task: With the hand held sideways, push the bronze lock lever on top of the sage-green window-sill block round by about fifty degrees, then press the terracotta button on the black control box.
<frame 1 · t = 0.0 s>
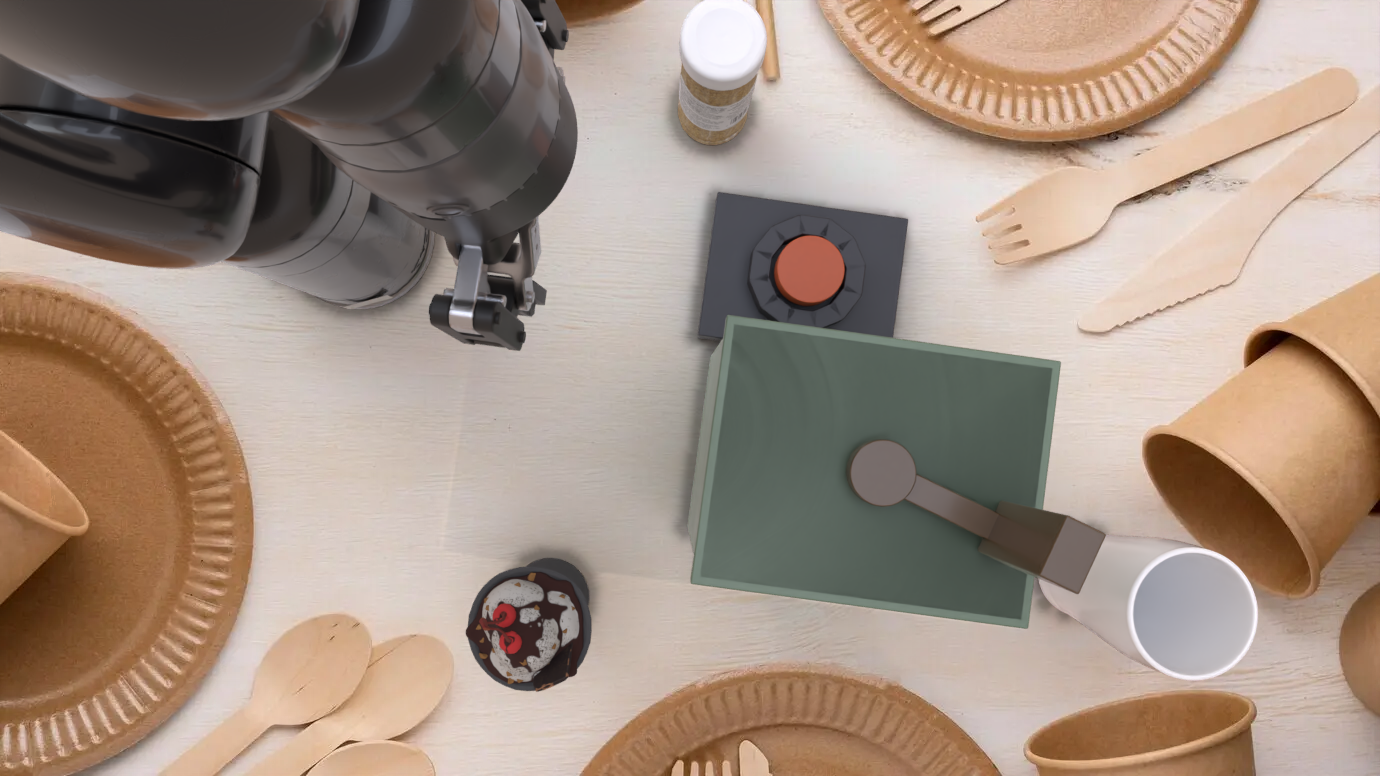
hand: (537, 207, 50), 17 cm above the table, tool pointing down, fingers open, 8 cm apart
sprinkles bottle: (711, 113, 68), on the table
control box: (799, 281, 67), on the table
sundae: (549, 596, 67), on the table
sill block: (807, 456, 67), on the table
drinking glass: (1074, 571, 67), on the table
button: (808, 271, 63), point 4 cm above the table, slide at 0.1 cm
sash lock: (960, 506, 41), point 26 cm above the table, hinge at 0.0°
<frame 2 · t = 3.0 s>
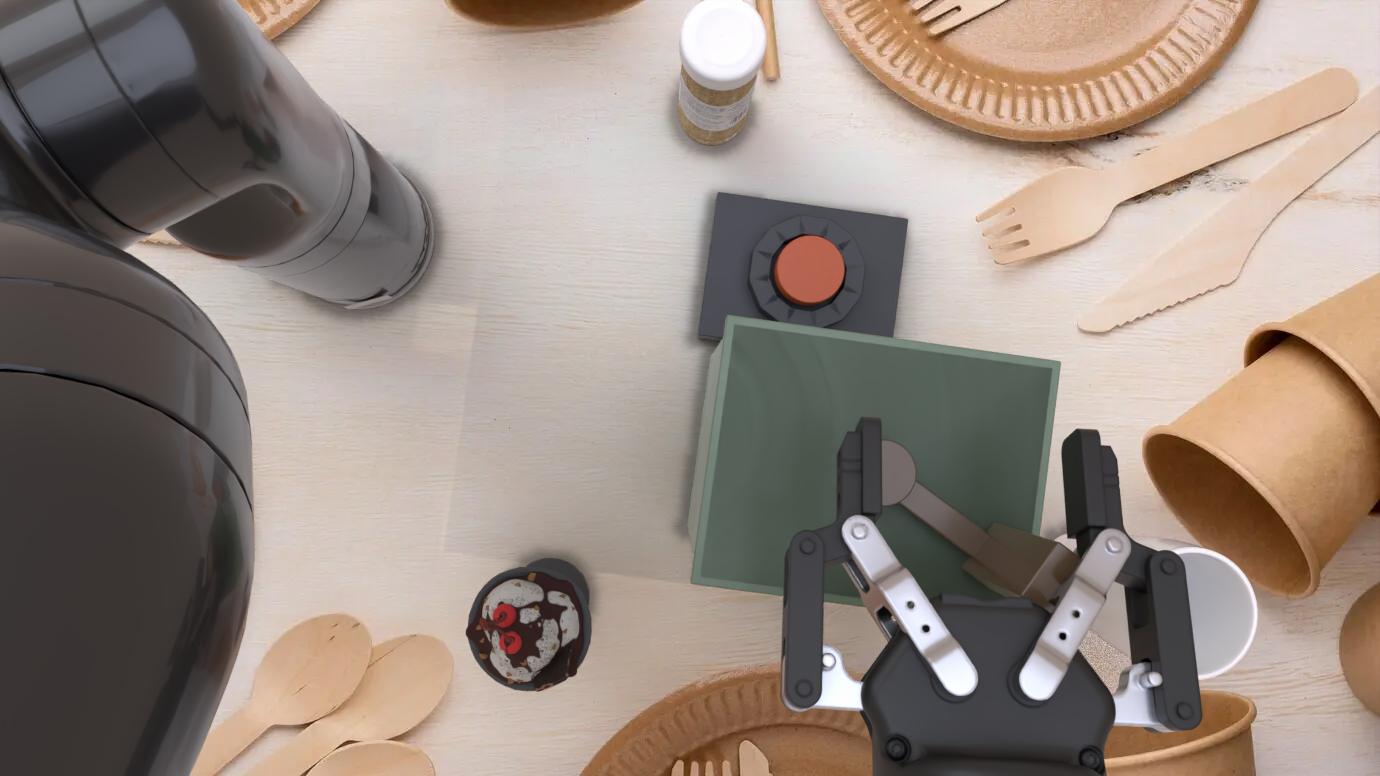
hand: (972, 429, 39), 28 cm above the table, tool tilted 70°, fingers open, 7 cm apart
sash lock: (953, 517, 41), point 26 cm above the table, hinge at -10.7°, touching gripper
everything else where it was.
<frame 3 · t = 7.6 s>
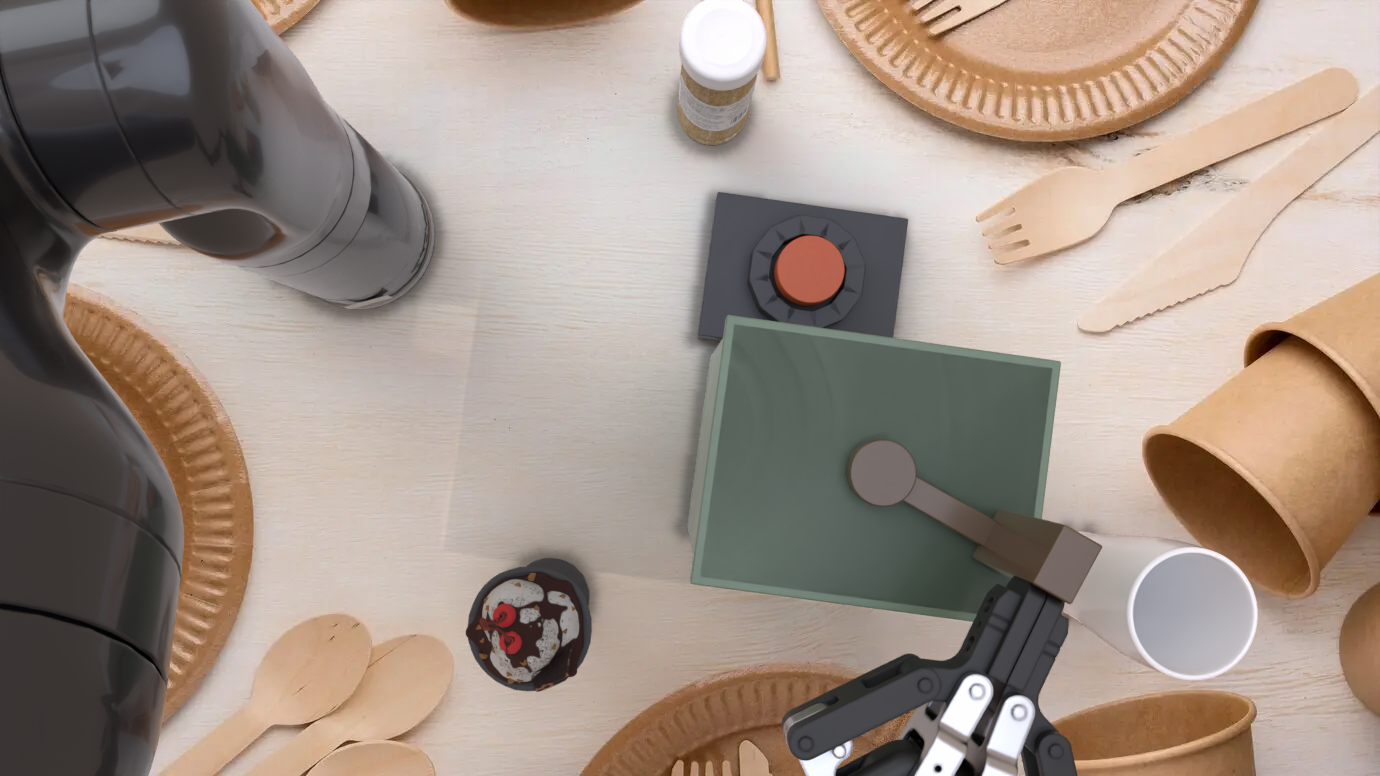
hand: (1038, 586, 39), 28 cm above the table, tool horizontal, fingers closed
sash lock: (958, 510, 41), point 26 cm above the table, hinge at -3.7°, touching gripper
everything else where it was.
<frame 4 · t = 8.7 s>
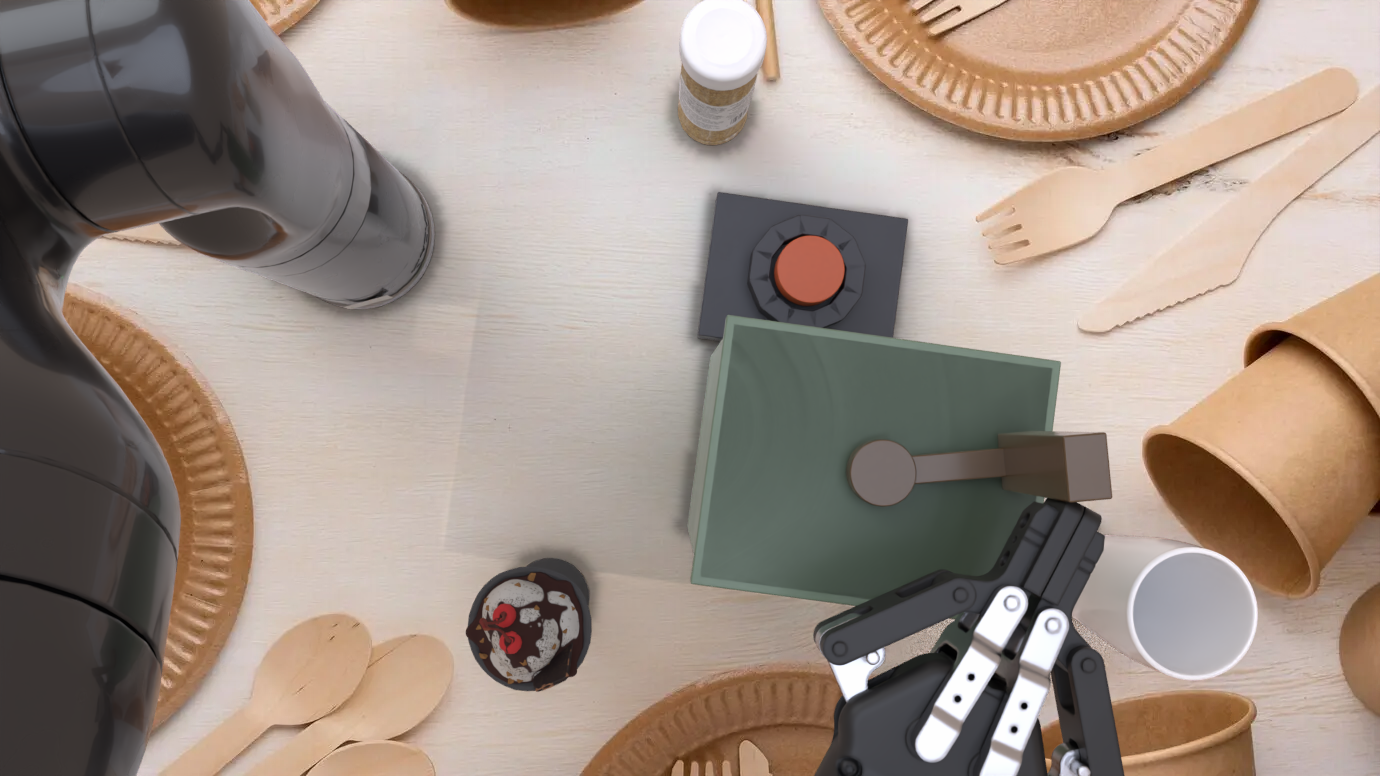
hand: (1075, 504, 39), 28 cm above the table, tool horizontal, fingers closed
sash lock: (966, 470, 41), point 26 cm above the table, hinge at 30.6°, touching gripper
everything else where it was.
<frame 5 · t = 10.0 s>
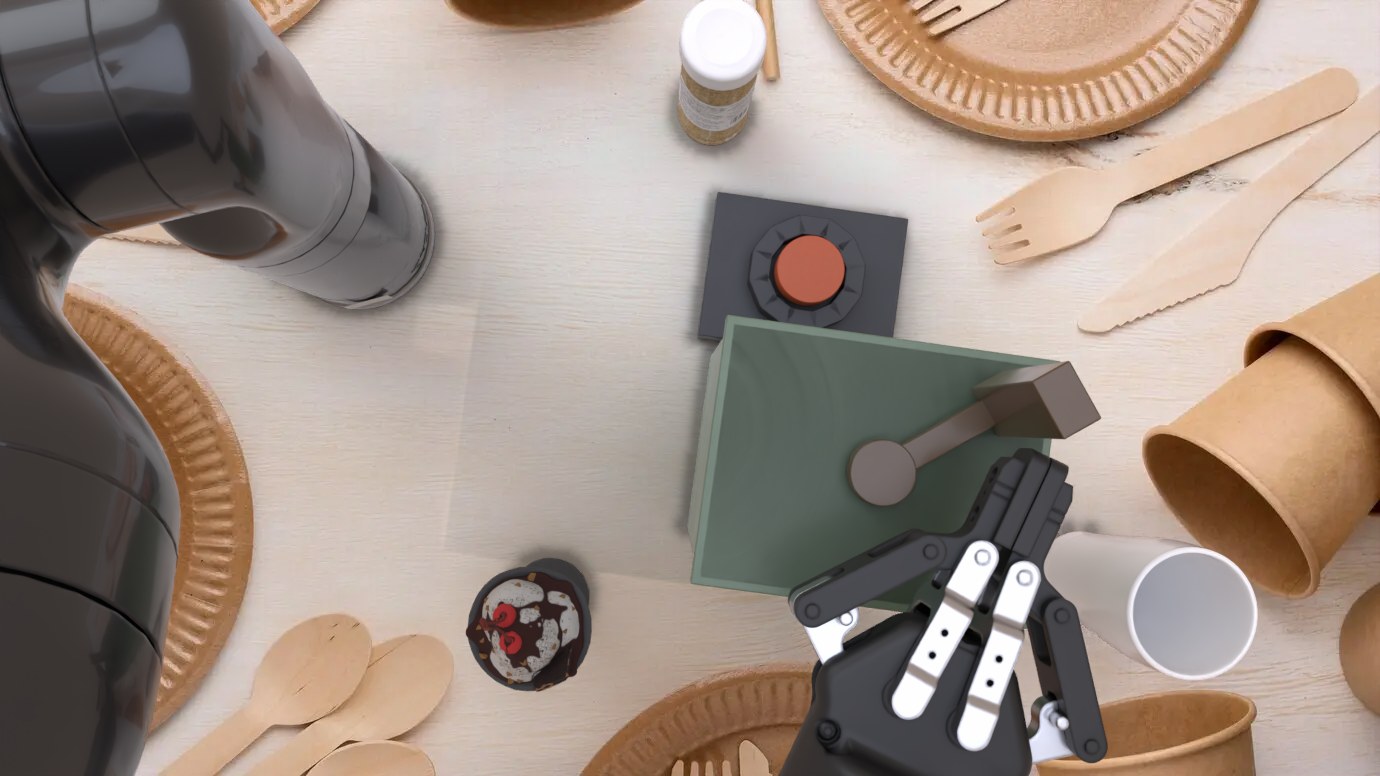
hand: (1042, 456, 39), 28 cm above the table, tool horizontal, fingers closed
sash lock: (957, 442, 41), point 26 cm above the table, hinge at 54.7°
everything else where it was.
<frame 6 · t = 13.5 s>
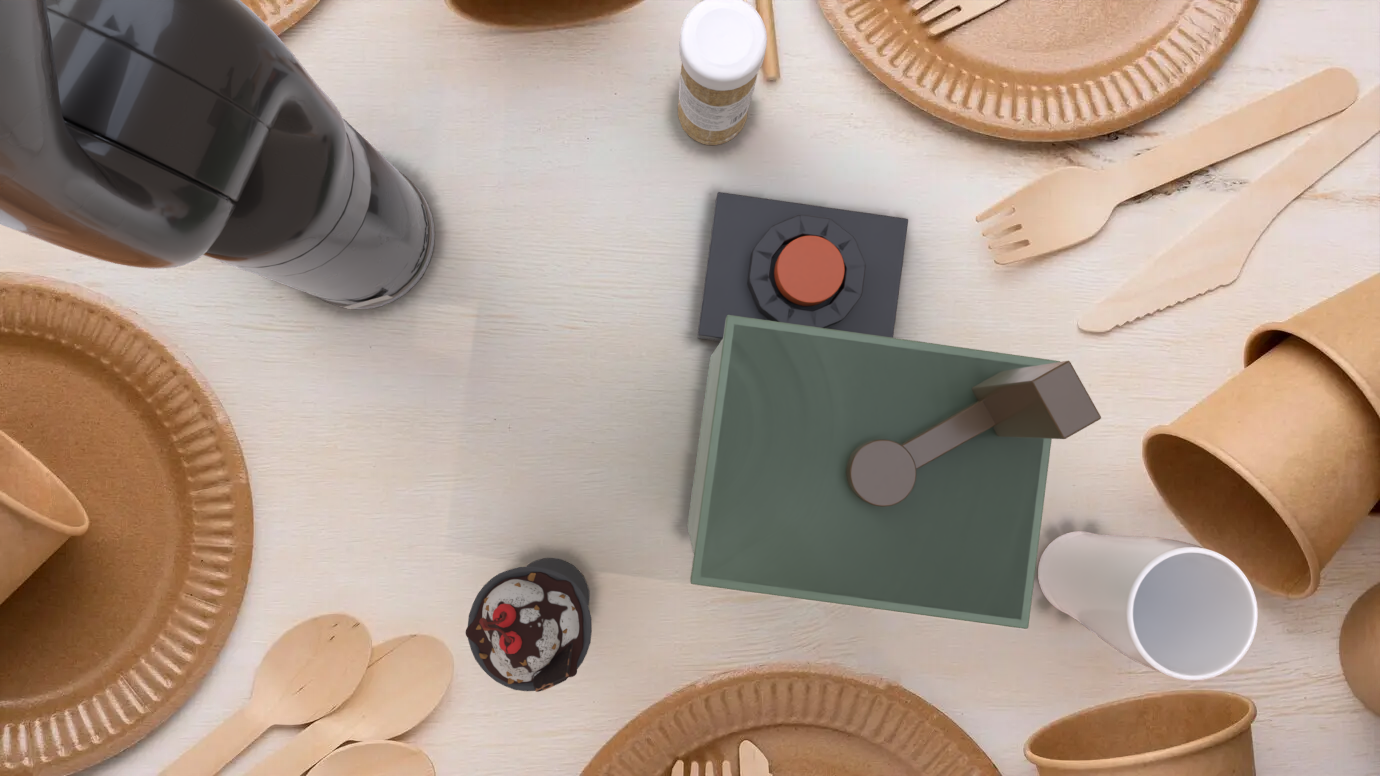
nothing on the table moved.
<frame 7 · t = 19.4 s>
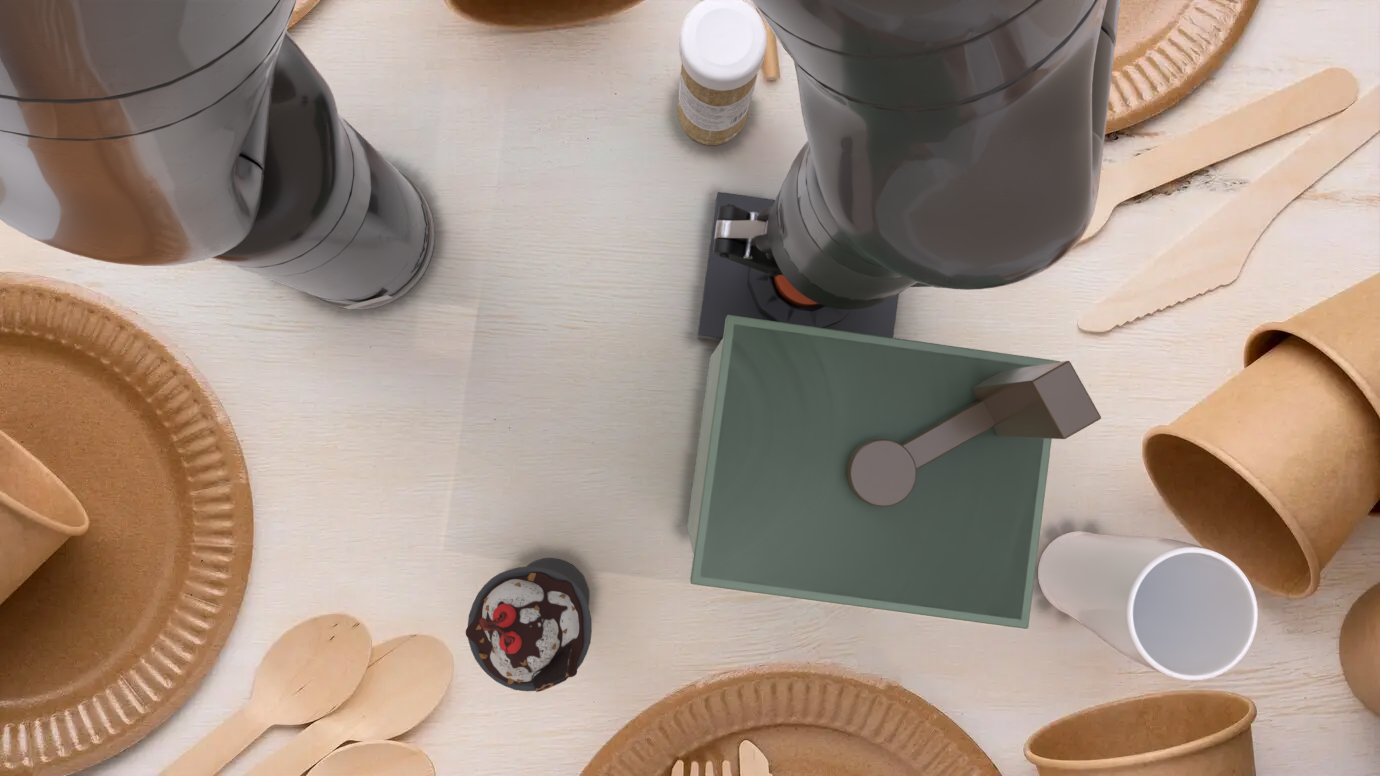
hand: (811, 271, 63), 5 cm above the table, tool pointing down, fingers closed
button: (807, 273, 64), point 4 cm above the table, slide at -0.7 cm, touching gripper
everything else where it was.
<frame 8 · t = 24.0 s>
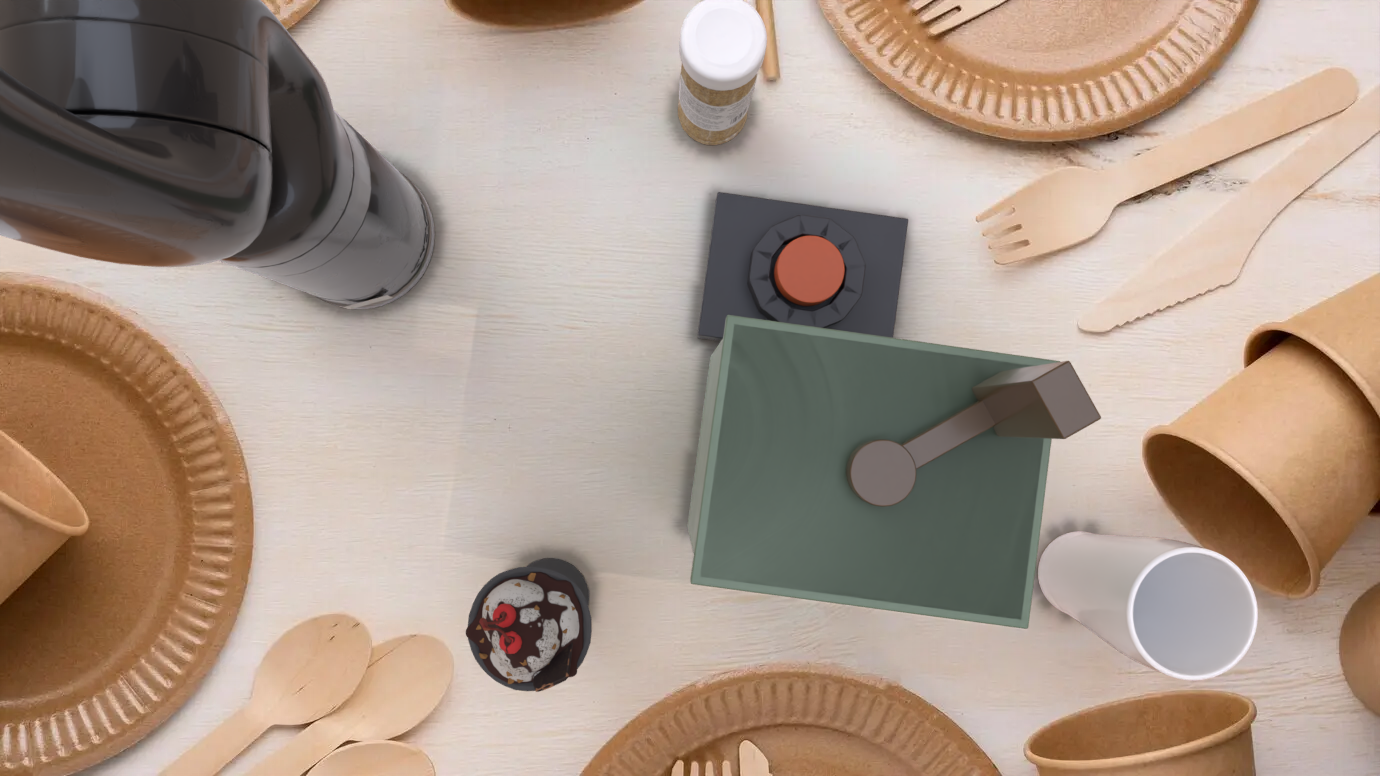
button: (808, 271, 63), point 4 cm above the table, slide at 0.1 cm
everything else where it was.
at the end: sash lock at +55° (first picture: +0°); button pushed in 1.2 cm at the most during the clip, back to where it started at the end; button slide at 0.1 cm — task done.
